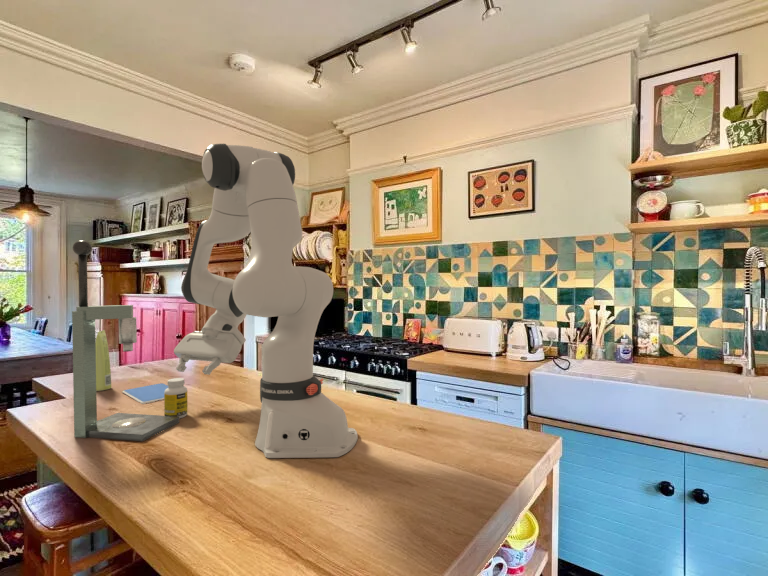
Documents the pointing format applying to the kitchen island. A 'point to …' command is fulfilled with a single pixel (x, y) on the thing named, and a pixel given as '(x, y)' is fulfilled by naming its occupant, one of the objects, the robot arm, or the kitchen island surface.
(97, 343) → the tube
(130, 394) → the tablet computer
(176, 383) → the supplement bottle
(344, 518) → the kitchen island surface
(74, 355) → the press
